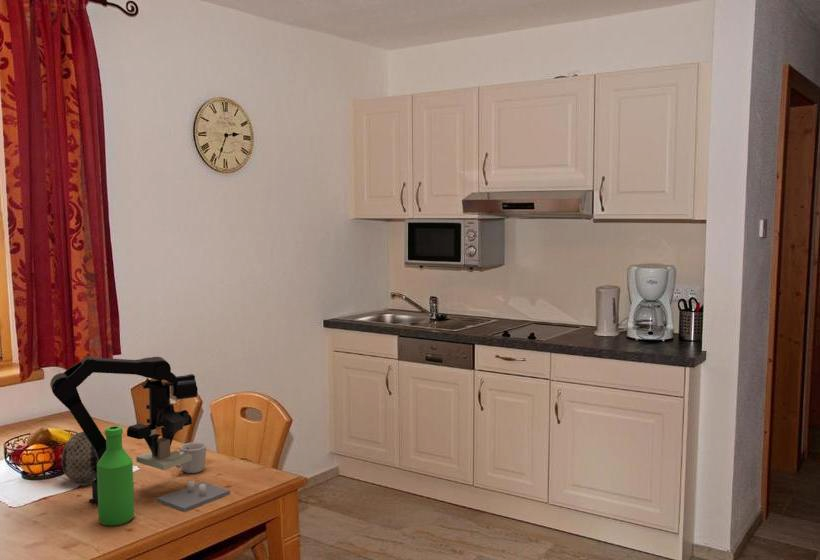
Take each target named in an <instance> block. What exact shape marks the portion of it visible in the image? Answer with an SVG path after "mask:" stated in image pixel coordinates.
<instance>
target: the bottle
mask: <svg viewBox="0 0 820 560" xmlns="http://www.w3.org/2000/svg"><path fill="white" fill-rule="evenodd" d="M123 433H124V431H123V427H121V426H119V425H115V426H114V425H113V426H109V427H107V428H106V429H105V430H104V437H105V439H106V451H105V452H104V454H103V455H102V457H101V458H100V460H99V462H98V463H97V489H98V505H97V508H98V509H97V510H98V514H97V515H98V522H100V523H101V524H103V525H105V526H111V527H113V526H114V527H115V526H120V525H121V526H122V525H124V524H126V523H128V522H130V521H131V520H132V519H133V518H134V516H135V492H134V491H135V488H134V470H133V468H134V466H133V458H132V457H131V456H130V455H129V454H128V453H127V451H126V450H125V449H124V448H123Z"/></svg>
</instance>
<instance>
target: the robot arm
mask: <svg viewBox="0 0 820 560" xmlns="http://www.w3.org/2000/svg"><path fill="white" fill-rule="evenodd" d="M171 370H172V368H171V365H170V363H169V362H168V361H167V360H166V359H165V358H163V357H162V356H153V357H151V356H150V357H143V358H140V359H123V358H109V357H108V358H107V357H105V358H104V357H94V356H90V355H89V356H86V357H84V358H82V359H81V360H80V361H79V362H77V363H76V364H74V365H72V366H71V367H69V368H68V369H67V370H66V371H64V372H60V373H57V374H55V375H53V376H52V378H51V380H50V382H49V383H50V385H49V386H50V390H51V392H52V394H53V395H54V396H55V398H57V399H58V400H59V402H61V404H62V405H64V406H65V408H67V409H68V410H69V412H70V413H71V414H72V416H73V418H74V419H75V421H76V422H77V424H78V425H79V427H80V429H81V430H82V432H84V433H85V435H86V436H87V438H88V439H89V441H90V442H91V444H92V446H93V447H94V449H95V451H96V454H97V456H98V459H99V460H100V458H101V457H102V455H103V454H104V452H105V451H106V437H105V435H103V433H102V432H101V430H100V428H99V427H98V425H97V423H96V422H95V420H94V418H93V417H92V416H91V414H90V413H89V411H88V409H87V408H86V406H85V405H84V403H83V402H82V400H81V397H80V393H79V391H78V387H79V386H80V385H82V383H84V382H85V381H86V379H87V378H88V377H89V376H91V375H92V374H94V373H97V374H114V375H115V374H117V375H119V374H120V375H121V374H122V375H134V376H135V375H136V376H141V377H144V378H146V379H145V381H143V382H142V383H141V385H140V386H141V387H142V388H143V389H146V390H147V389H148V400H149V401H148V403H149V404H147V405H146V407H145V408H146V410H148V411H149V418H146V422H147V425H146V424H142V423H137V424H132V425H130V426H128V428H127V429H126V436H127V437H128V438H133V439H137V440H143V439H144V440H145V442H146V444H147V446H148V447H149V449H150V452H152V453H153V455H154V456H157V453H158V445H157V439H158V438H160V436H162V437H163V438H167V439H170V447H172V443H173V440H174V437H175V435H176V434H177V433H178V432H179V431H181V430H183V429H184V427H186V426H190V425H192V424H193V417H192V416H191V414H190V413H189V411H188V410H187V409H184V410H180V411H175V407H174V404H172V403H171V397H174V398H175V399H176V400H186V399H194V398H197V396H198V389H199V388H198V386H197V381H196V376H195V375H194V374H193V373H191V374H186V375H178V376H176V374H174V373H173V372H172V371H171ZM151 379H152V380H151ZM159 429H161V435H160V434H159V433H158V432H157V430H159ZM92 472H93V474H94V476H95V478H94V480H91V491H92V493H91V494H92V498H90V499H88V500H89V501H88V502H90V503H92V504H95V505H97V506H98V489H97V465H96V466H95V467H94V468H93V469H92Z"/></svg>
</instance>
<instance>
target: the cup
mask: <svg viewBox="0 0 820 560" xmlns="http://www.w3.org/2000/svg"><path fill="white" fill-rule="evenodd" d="M179 452H180V456H183V455H186V454H190V455H192V460H191V461H188V462H186V463H183V464H180V465H177V466H175V468H176V469H182V470H183V472H184V473H188V474H196V473H197V474H198V473H200V472H202V471H203V470H204V469H205V466H206V456H207V455H206V454H207V444H206V443H204V442H201V441H192V442H187V443H184V444H181V445H180V446H179Z"/></svg>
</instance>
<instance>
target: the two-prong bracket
mask: <svg viewBox="0 0 820 560" xmlns="http://www.w3.org/2000/svg"><path fill="white" fill-rule="evenodd" d="M157 445H158V453H157V456H154V455H153V453H152V451H150V452H147V453H144V454H140V455H138V456H137V455H136V459H135V461H136V463H139V464H143V465H144V466H145V465H146V466H148V467H152V468H155V469H159V470H162V471H165V470H168V469H170V468H174V467H176V466H177V465H180V464H183V463H186V462H188V461H191V460H192V455H190V454H186V455H183V456H180V450H174V451H171V446H170V439H167V438H163V437H159V438H158V439H157Z"/></svg>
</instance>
